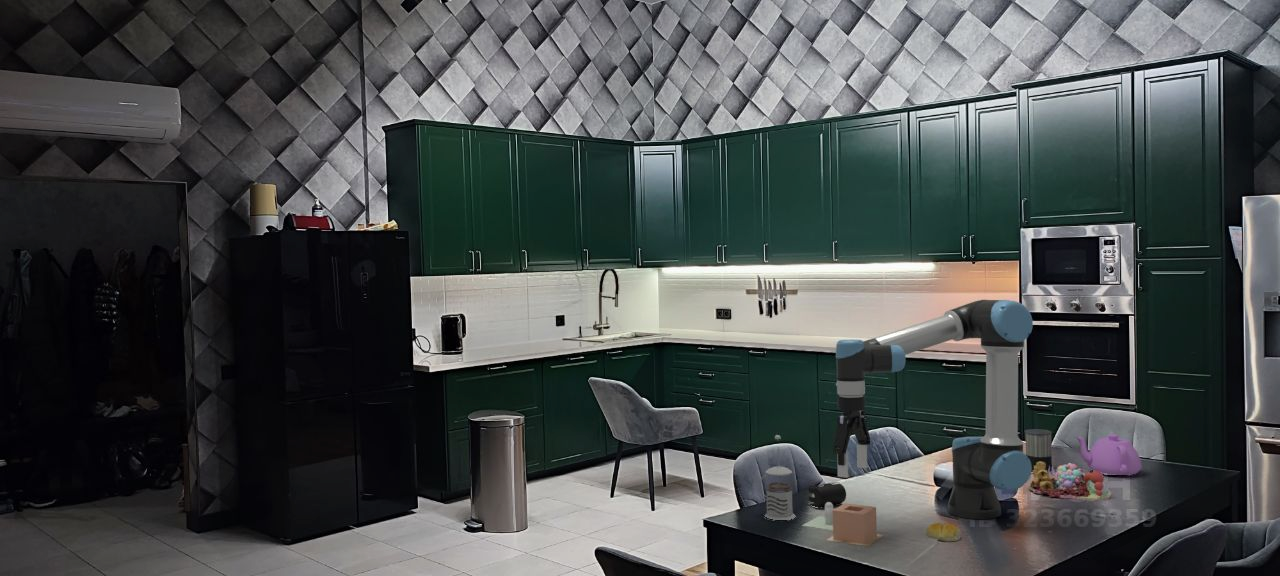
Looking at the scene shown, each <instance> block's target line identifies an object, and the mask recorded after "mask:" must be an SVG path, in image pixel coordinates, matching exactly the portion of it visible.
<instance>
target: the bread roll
mask: <svg viewBox="0 0 1280 576" xmlns="http://www.w3.org/2000/svg"><path fill="white" fill-rule="evenodd" d="M926 535H927V536H928V537H929V538H932V539H936V540H937V541H938V542H941V541H943V542H947V543H948V542H949V543H950V542H951V543H952V542H957V541H959V540H960V539H961V538H962V531H961V530H960V529H959V527H957V526H956V525H954V524H952V523H946V524H942V523H940V522H939V523H938V522H934V523H931V524H930V525H929V526H927V528H926Z"/></svg>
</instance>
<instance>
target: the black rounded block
mask: <svg viewBox="0 0 1280 576" xmlns="http://www.w3.org/2000/svg"><path fill="white" fill-rule="evenodd" d="M808 493H810V494H812V495H813V496H811V495H809V496H808V501H809V502H810V503H809V506H810V505H812V506H815V507H818V508H817V509H820V508H821V507H822V508H825V504H826V503H827V502H830V503H832V504H833V505H834V506H837V505H836V504H840V505H843V503H844V502H845V501H846V500H847V499H846V498H847V491H846V488H845V487H844V485H843V484H842V483H839V482H838V483H829V482H827V483H823V485H822V486H820V485H817V484H816V485H815V484H814V485H810V486H808ZM812 506H811V507H812ZM815 507H814V508H815Z"/></svg>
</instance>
